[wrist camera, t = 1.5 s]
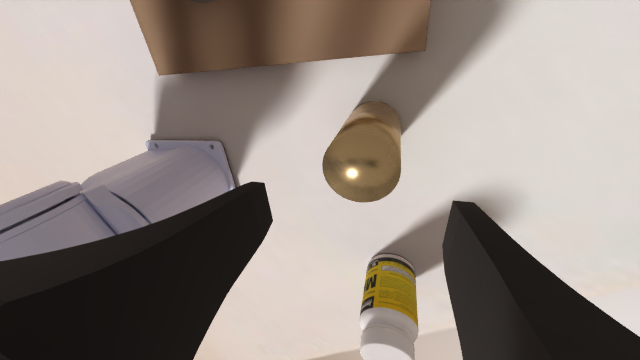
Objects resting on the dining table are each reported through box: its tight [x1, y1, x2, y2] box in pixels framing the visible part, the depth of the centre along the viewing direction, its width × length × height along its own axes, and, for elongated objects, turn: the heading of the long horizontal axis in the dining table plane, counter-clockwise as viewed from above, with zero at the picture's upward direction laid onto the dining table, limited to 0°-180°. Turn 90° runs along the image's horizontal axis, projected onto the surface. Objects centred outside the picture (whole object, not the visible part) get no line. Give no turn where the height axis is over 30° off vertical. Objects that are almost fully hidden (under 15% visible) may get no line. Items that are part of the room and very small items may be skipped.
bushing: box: [323, 101, 401, 202], centre depth 15 cm, size 4×4×7 cm
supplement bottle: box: [360, 254, 418, 360], centre depth 21 cm, size 5×5×8 cm
